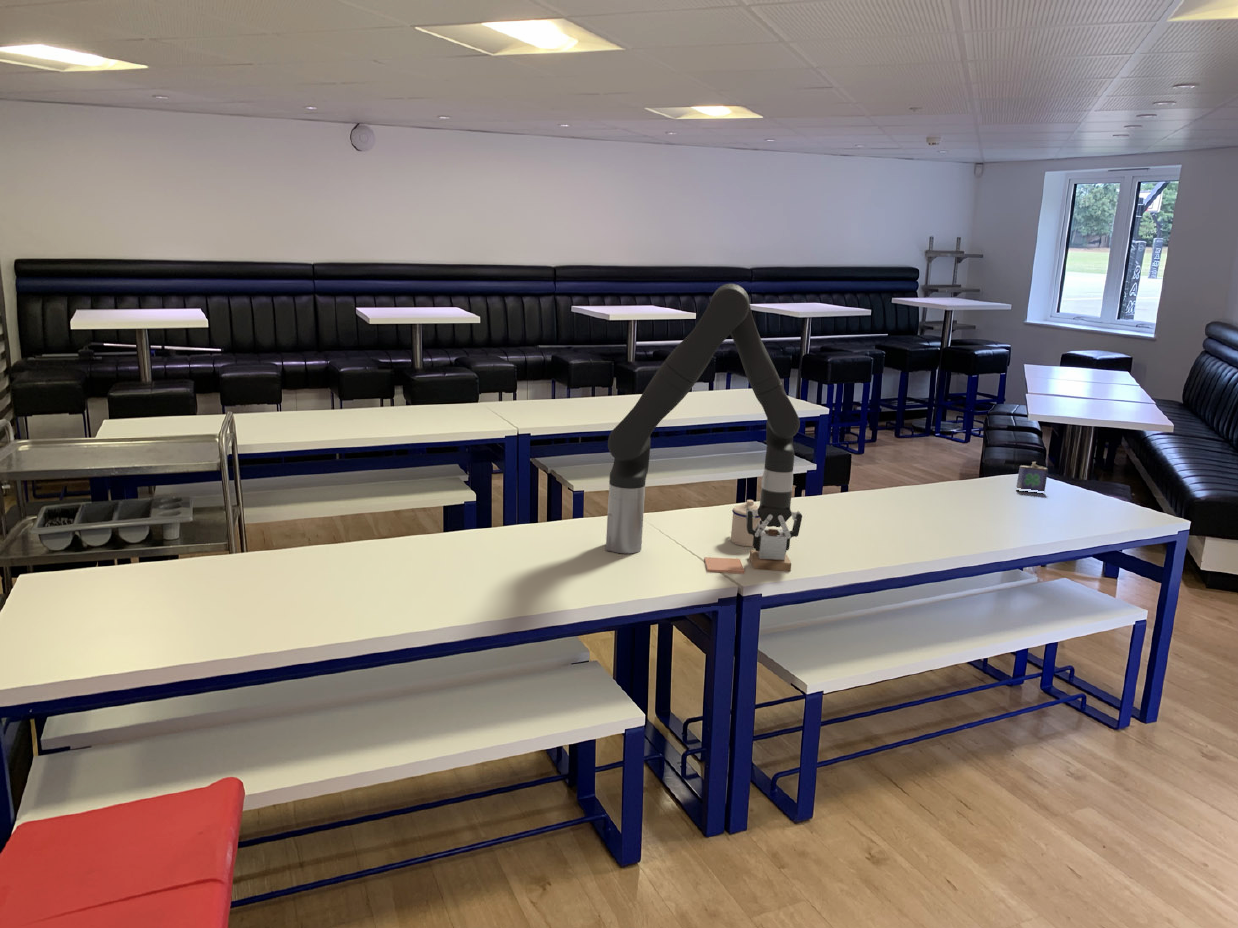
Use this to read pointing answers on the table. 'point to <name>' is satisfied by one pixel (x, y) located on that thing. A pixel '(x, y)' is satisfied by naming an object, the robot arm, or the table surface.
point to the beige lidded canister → (743, 524)
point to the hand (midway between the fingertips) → (770, 550)
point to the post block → (770, 560)
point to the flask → (1032, 477)
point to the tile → (723, 565)
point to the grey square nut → (772, 545)
